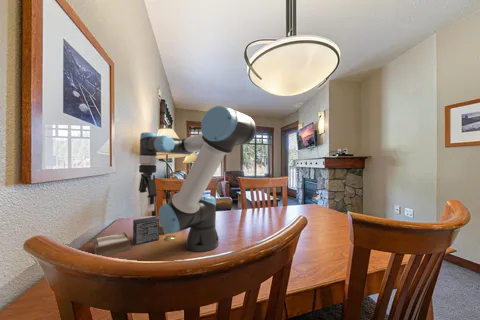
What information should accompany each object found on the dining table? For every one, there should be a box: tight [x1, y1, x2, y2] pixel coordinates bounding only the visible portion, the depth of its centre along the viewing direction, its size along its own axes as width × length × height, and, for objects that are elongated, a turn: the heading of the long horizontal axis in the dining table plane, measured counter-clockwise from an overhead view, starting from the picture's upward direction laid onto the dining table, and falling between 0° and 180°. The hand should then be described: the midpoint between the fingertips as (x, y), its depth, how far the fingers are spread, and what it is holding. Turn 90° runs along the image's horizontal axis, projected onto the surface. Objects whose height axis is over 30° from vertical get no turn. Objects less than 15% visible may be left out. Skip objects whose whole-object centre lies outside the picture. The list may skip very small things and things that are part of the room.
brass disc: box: [164, 234, 177, 242], centre depth 95 cm, size 5×5×1 cm
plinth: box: [92, 232, 132, 257], centre depth 83 cm, size 12×12×4 cm
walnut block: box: [159, 224, 169, 236], centre depth 103 cm, size 5×5×4 cm
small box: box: [132, 215, 160, 246], centre depth 92 cm, size 11×6×10 cm, turn 130°
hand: (146, 208), depth 93 cm, fingers open, 13 cm apart
